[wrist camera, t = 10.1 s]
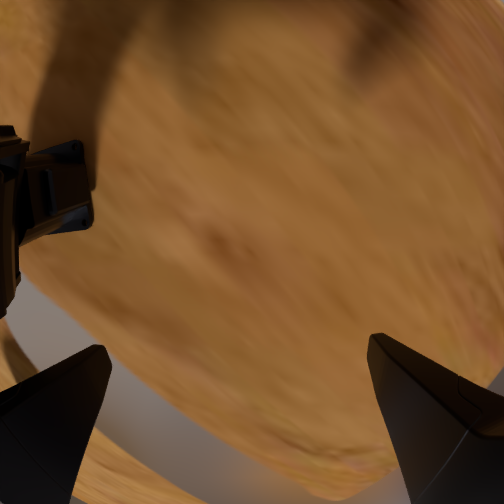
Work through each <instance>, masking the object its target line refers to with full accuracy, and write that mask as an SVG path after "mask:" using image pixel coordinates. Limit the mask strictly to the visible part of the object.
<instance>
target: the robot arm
mask: <svg viewBox="0 0 504 504" xmlns="http://www.w3.org/2000/svg"><path fill="white" fill-rule="evenodd" d="M17 136H18V135H16V133H15V130H14V127H13V126H12V125H0V319H1V318H3V317H4V316H5V315H6V314H7V310H6V308H7V307H8V306H9V305H10V303H11V301H12V300H13V299H14V297H15V291H16V287H17V286H18V284H19V283H20V281H21V272H20V271H19V247H21V246H23V245H25V244H27V243H29V242H31V241H33V240H35V239H37V238H39V237H41V236H43V235H50V234H57V233H64V232H72V231H79V230H86V229H88V228H90V227H91V226H92V224H93V221H92V215H91V209H90V202H89V200H90V197H89V190H88V182H87V174H86V166H85V163H84V152H83V144H82V142H81V141H80V140H72V141H69V142H66V143H63V144H60V145H57V146H54V147H51V148H48V149H45V150H42V151H39V152H37V153H34V154H31V155H26V153H27V151H29V145H30V141H25V140H22V138H20V137H17ZM76 144H77V149H75V145H76ZM85 220H86V221H87V225H86V224H85ZM367 362H368V366H369V370H370V374H371V378H372V382H373V386H374V391H375V395H376V399H377V402H378V404H379V407H380V410H381V413H382V415H383V418H384V421H385V424H386V427H387V430H388V432H389V435H390V438H391V441H392V444H393V447H394V450H395V453H396V456H397V459H398V462H399V465H400V468H401V472H402V475H403V478H404V481H405V484H406V488H407V491H408V495H409V498H410V501H411V504H504V397H503V396H501V395H499V394H496V393H494V392H491V391H489V390H487V389H485V388H483V387H480V386H478V385H477V384H475V383H473V382H471V381H469V380H467V379H465V378H463V377H462V376H458V374H456V373H454V372H452V371H451V370H449V369H447V368H445V367H443V366H442V365H440V364H438V363H436V362H434V361H432V360H431V359H429V358H427V357H425V356H423V355H422V354H420V353H418V352H416V351H415V350H413V349H411V348H409V347H407V346H406V345H404V344H402V343H400V342H398V341H397V340H395V339H393V338H391V337H389V336H388V335H386V334H384V333H376V334H371V335H370V338H369V344H368V351H367ZM111 371H112V363H111V360H110V358H109V355H108V353H107V350H106V348H105V347H104V346H103V345H97V344H94V345H91V346H90V347H88V348H86V349H84V350H82V351H80V352H78V353H76V354H74V355H72V356H70V357H69V358H67V359H65V360H63V361H61V362H59V363H57V364H55V365H53V366H51V367H49V368H47V369H45V370H44V371H41V372H40V373H38V374H36V375H34V376H32V377H30V378H28V379H26V380H24V381H22V382H20V383H18V384H16V385H14V386H12V387H10V388H8V389H6V390H4V391H2V392H0V504H69V502H70V499H71V495H72V491H73V488H74V485H75V481H76V478H77V475H78V472H79V468H80V465H81V462H82V459H83V456H84V453H85V450H86V447H87V444H88V441H89V439H90V436H91V433H92V430H93V427H94V425H95V422H96V419H97V416H98V414H99V411H100V409H101V406H102V403H103V400H104V396H105V392H106V389H107V385H108V381H109V378H110V374H111Z"/></svg>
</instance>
